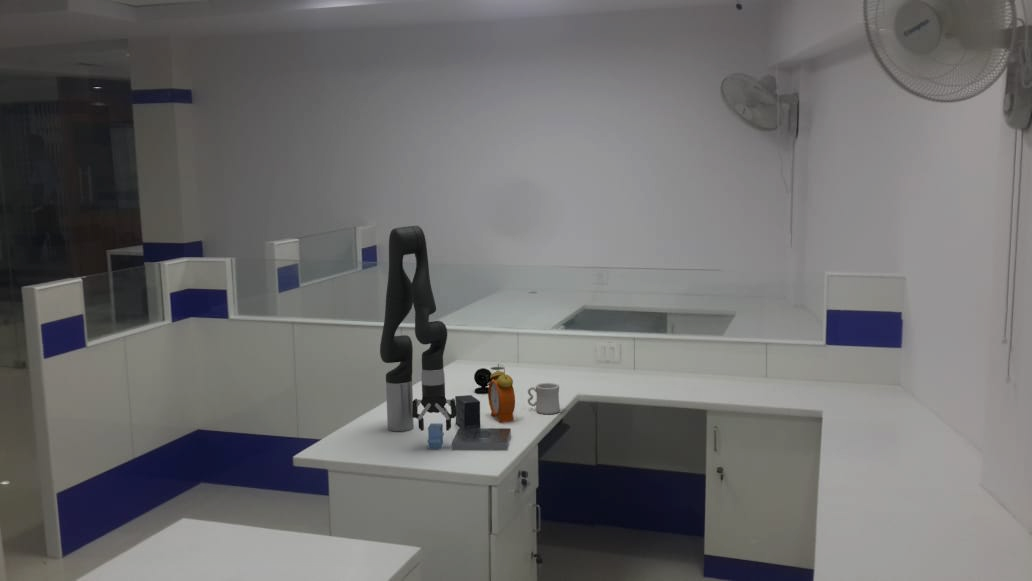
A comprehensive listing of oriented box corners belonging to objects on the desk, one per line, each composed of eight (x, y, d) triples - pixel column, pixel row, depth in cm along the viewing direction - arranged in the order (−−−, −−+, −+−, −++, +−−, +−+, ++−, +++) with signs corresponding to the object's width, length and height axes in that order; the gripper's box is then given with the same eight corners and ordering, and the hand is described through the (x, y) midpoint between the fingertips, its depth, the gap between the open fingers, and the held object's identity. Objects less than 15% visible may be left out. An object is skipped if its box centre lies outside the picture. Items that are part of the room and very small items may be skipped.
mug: (562, 409, 329) (561, 383, 328) (556, 415, 320) (556, 389, 319) (530, 407, 332) (530, 381, 331) (524, 413, 324) (524, 387, 322)
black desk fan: (472, 393, 354) (471, 370, 353) (477, 389, 361) (476, 366, 360) (490, 394, 352) (489, 370, 351) (495, 390, 360) (494, 366, 358)
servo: (432, 441, 291) (431, 421, 290) (444, 441, 291) (443, 421, 290) (427, 450, 282) (426, 429, 281) (439, 450, 282) (439, 429, 281)
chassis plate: (458, 435, 298) (458, 428, 297) (510, 435, 296) (510, 428, 296) (452, 449, 282) (451, 442, 282) (506, 450, 281) (506, 442, 280)
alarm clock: (487, 414, 323) (486, 362, 320) (503, 413, 325) (502, 360, 322) (500, 424, 310) (499, 369, 308) (516, 422, 312) (515, 368, 310)
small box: (481, 429, 304) (481, 400, 302) (464, 432, 301) (463, 402, 300) (472, 422, 313) (471, 394, 312) (455, 424, 311) (454, 395, 310)
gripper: (456, 379, 286) (458, 427, 288) (414, 379, 287) (415, 427, 289) (452, 384, 279) (454, 433, 281) (409, 384, 280) (411, 433, 282)
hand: (434, 430), depth 285 cm, fingers open, 8 cm apart
